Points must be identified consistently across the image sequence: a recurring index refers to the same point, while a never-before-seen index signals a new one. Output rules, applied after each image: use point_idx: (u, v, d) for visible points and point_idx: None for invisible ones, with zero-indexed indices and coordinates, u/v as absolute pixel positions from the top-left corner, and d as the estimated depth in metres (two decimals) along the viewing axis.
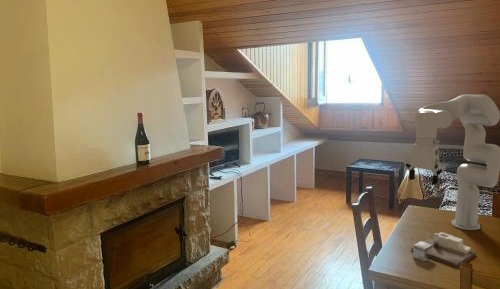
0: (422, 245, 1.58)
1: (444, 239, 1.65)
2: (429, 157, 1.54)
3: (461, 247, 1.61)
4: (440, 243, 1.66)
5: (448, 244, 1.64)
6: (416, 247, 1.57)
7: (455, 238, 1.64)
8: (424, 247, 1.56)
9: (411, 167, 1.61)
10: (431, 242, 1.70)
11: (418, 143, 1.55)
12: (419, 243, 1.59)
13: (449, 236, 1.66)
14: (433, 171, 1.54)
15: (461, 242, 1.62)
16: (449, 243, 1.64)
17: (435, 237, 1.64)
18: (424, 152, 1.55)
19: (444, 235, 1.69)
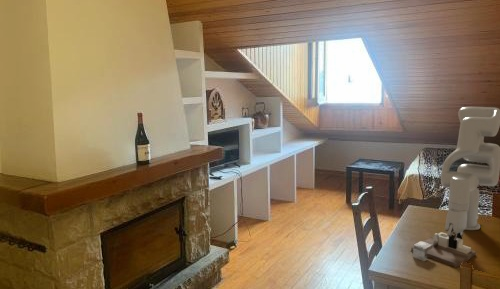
0: (422, 245, 1.58)
1: (444, 239, 1.65)
2: (466, 218, 1.62)
3: (461, 247, 1.61)
4: (440, 243, 1.66)
5: None
6: (416, 247, 1.57)
7: None
8: (424, 247, 1.56)
9: (456, 236, 1.60)
10: (431, 242, 1.70)
11: (465, 209, 1.57)
12: (419, 243, 1.59)
13: None
14: (462, 232, 1.63)
15: (461, 242, 1.62)
16: None
17: (435, 237, 1.64)
18: (464, 215, 1.60)
19: (444, 235, 1.69)
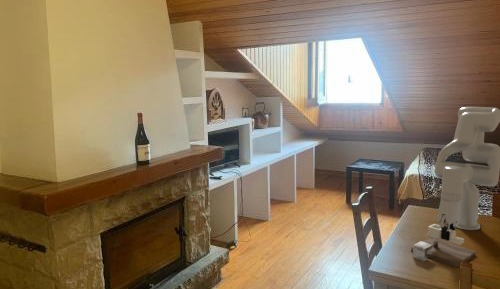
0: (422, 245, 1.58)
1: (437, 230, 1.61)
2: (459, 209, 1.59)
3: (454, 238, 1.58)
4: (433, 235, 1.63)
5: None
6: (416, 247, 1.57)
7: None
8: (424, 247, 1.56)
9: (448, 227, 1.57)
10: (431, 242, 1.70)
11: (458, 200, 1.54)
12: (419, 243, 1.59)
13: None
14: (455, 224, 1.60)
15: (454, 233, 1.59)
16: None
17: None
18: (457, 206, 1.57)
19: (437, 227, 1.65)
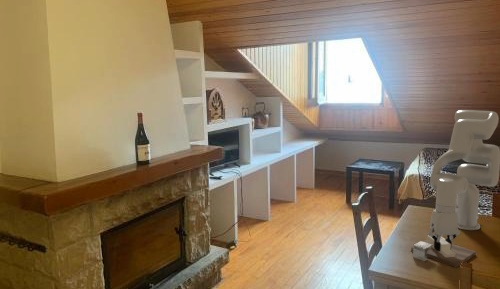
0: (422, 245, 1.58)
1: (432, 240, 1.63)
2: (455, 223, 1.57)
3: (444, 250, 1.58)
4: None
5: None
6: (416, 247, 1.57)
7: (443, 241, 1.61)
8: (424, 247, 1.56)
9: (439, 238, 1.58)
10: None
11: (448, 212, 1.54)
12: (419, 243, 1.59)
13: (440, 239, 1.63)
14: (451, 237, 1.59)
15: (447, 246, 1.58)
16: None
17: None
18: (450, 219, 1.56)
19: None
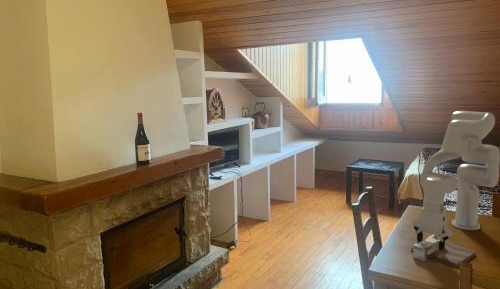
0: (422, 245, 1.58)
1: None
2: (436, 223, 1.57)
3: None
4: None
5: None
6: (416, 247, 1.57)
7: (432, 240, 1.62)
8: (424, 247, 1.56)
9: (419, 230, 1.64)
10: None
11: (425, 209, 1.58)
12: (419, 243, 1.59)
13: (435, 239, 1.63)
14: (440, 237, 1.57)
15: None
16: None
17: (435, 237, 1.64)
18: (431, 218, 1.58)
19: None
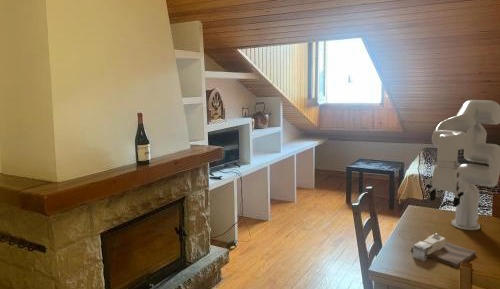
0: (422, 245, 1.58)
1: None
2: (450, 180, 1.55)
3: None
4: None
5: None
6: (416, 247, 1.57)
7: (432, 240, 1.62)
8: (424, 247, 1.56)
9: (432, 188, 1.63)
10: None
11: (439, 166, 1.57)
12: (419, 243, 1.59)
13: (435, 239, 1.63)
14: (454, 193, 1.55)
15: None
16: None
17: (435, 237, 1.64)
18: (445, 174, 1.56)
19: None
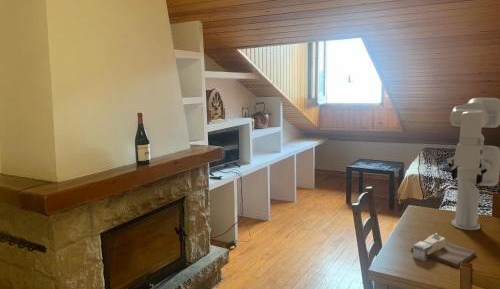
0: (422, 245, 1.58)
1: None
2: (474, 156, 1.56)
3: None
4: None
5: None
6: (416, 247, 1.57)
7: (432, 240, 1.62)
8: (424, 247, 1.56)
9: (454, 166, 1.64)
10: None
11: (462, 143, 1.58)
12: (419, 243, 1.59)
13: (435, 239, 1.63)
14: (477, 170, 1.56)
15: None
16: None
17: (435, 237, 1.64)
18: (468, 152, 1.57)
19: None
